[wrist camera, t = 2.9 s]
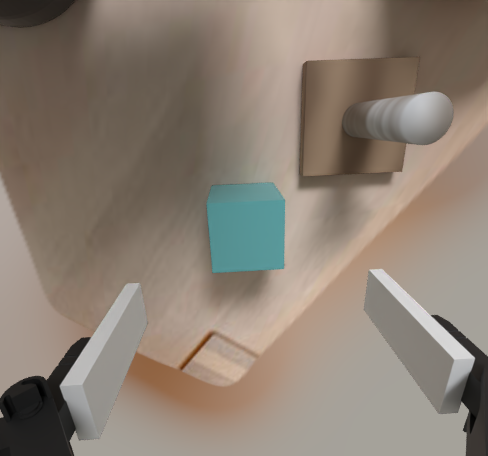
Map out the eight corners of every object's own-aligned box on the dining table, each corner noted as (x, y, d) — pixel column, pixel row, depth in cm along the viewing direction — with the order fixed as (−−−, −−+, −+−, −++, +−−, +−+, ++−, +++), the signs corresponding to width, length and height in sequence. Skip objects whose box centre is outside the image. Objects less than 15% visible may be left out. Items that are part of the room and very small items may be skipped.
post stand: (299, 173, 29) (339, 203, 19) (302, 64, 26) (354, 22, 15) (393, 169, 30) (486, 196, 19) (409, 60, 26) (535, 17, 15)
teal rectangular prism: (216, 241, 32) (212, 272, 25) (211, 185, 29) (206, 203, 23) (272, 238, 32) (284, 268, 25) (272, 182, 30) (285, 199, 23)
